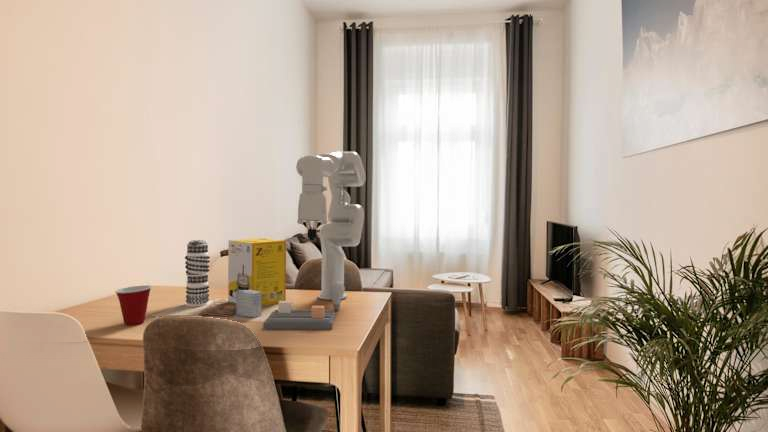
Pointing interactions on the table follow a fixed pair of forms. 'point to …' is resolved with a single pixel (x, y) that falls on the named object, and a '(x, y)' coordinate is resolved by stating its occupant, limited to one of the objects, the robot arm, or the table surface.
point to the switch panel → (299, 320)
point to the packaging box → (257, 268)
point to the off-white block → (284, 307)
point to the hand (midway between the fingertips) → (311, 239)
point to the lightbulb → (336, 293)
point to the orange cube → (318, 311)
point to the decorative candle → (197, 273)
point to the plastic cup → (133, 303)
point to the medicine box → (248, 303)
